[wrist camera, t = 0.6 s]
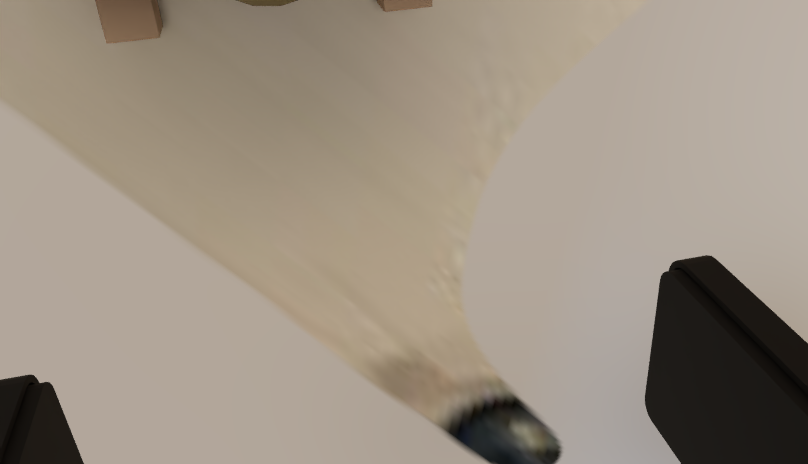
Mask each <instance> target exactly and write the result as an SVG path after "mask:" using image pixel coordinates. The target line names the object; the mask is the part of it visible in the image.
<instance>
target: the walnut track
mask: <svg viewBox="0 0 808 464" xmlns="http://www.w3.org/2000/svg"><path fill="white" fill-rule="evenodd" d="M95 1H96V5H97V9H98V13H99V17H100V20H101V24H102V28H103V32H104V36H105V39H106V43H107V44H108V43H117V42H125V41H134V40H143V39H152V38H160V34H161V31H162V27H163V25H162V21H161V16H160V12H159V7H158V3H157V0H95ZM377 3H378V4H379V5H380V6H381V8H382V9H383V10H384V11H385V12H388V11H397V10H406V9H414V8H423V7H432V0H377Z"/></svg>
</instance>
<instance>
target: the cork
mask: <svg viewBox="0 0 808 464" xmlns="http://www.w3.org/2000/svg"><path fill="white" fill-rule="evenodd" d="M237 1H240V2H243V3H246V4H249V5H252V6H282V5H285V4H288V3H291V2H294V1H297V0H237Z"/></svg>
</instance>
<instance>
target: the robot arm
mask: <svg viewBox="0 0 808 464" xmlns="http://www.w3.org/2000/svg"><path fill="white" fill-rule="evenodd" d="M645 405H646V409H647V412H648V415H649V417H650V419H651V421H652V422H653V423H654V425H655V426H656V428H657V429H658V431H659V432H660V434H661V435H662V437H663V438H664V439H665V441H666V442H667V444H668V445H669V447H670V448H671V450H672V451H673V452H674V454H675V455H676V457H677V458H678V460H679V461H680V462H681V464H808V343H807V342H805V341H804V340H803V339H802V338H801V337H800V336H799V335H798V334H797V333H796V332H794V330H792V329H791V328H790V327H789V326H788V325H787V324H786V323H785V322H784V321H783V320H781V319H780V318H779V317H778V316H777V315H776V314H775V313H774V312H773V311H772V310H771V309H770V308H769V307H767V306H766V305H765V304H764V303H763V302H762V301H761V300H760V299H759V298H758V297H756V296H755V295H754V294H753V293H752V292H751V291H750V290H749V289H748V288H746V286H744V284H742V283H741V282H740V281H739V280H738V279H737V278H736V277H735V276H734V275H732V273H730V272H729V271H728V270H727V269H726V268H725V267H724V266H723V265H722V264H721V263H720V262H718V261H717V260H716V259H715V258H713V257H712V256H707V255H706V256H701V257H695V258H689V259H684V260H678V261H675V262H673V263H672V264H671V266H670V268H669V271H667V272H664V273H663V274H662V276H661V279H660V285H659V293H658V300H657V309H656V316H655V324H654V331H653V339H652V347H651V354H650V362H649V370H648V377H647V385H646V393H645ZM0 464H84V463H83V461H82V458H81V456H80V453H79V450H78V448H77V445H76V443H75V440H74V438H73V435H72V433H71V430H70V428H69V425H68V423H67V420H66V418H65V415H64V413H63V410H62V408H61V405H60V403H59V400H58V398H57V395H56V393H55V390H54V388H53V386H52V385H51V384H50V383H49V382H44V383H39V381H38V380H37V378H36V377H35V376H34V375H25V376H20V377H14V378H8V379H3V380H0Z"/></svg>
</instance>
